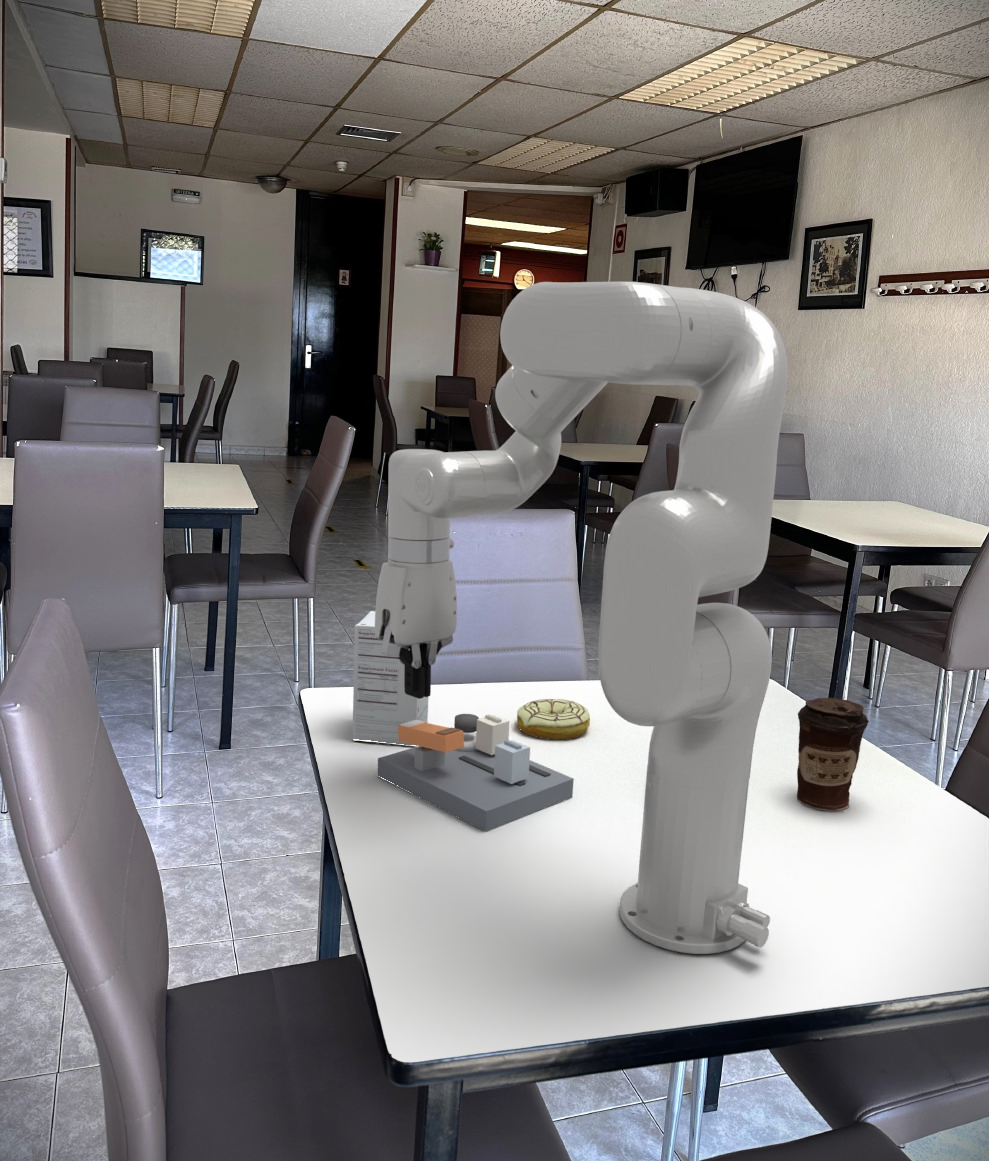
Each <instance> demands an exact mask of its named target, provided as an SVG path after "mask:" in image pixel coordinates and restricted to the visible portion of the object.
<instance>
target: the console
mask: <svg viewBox="0 0 989 1161" xmlns="http://www.w3.org/2000/svg"><path fill="white" fill-rule="evenodd" d="M463 735H464V747H462V748H459V749H456V750H452V751H449V752H442V751H438V750H434V749H430V748H426V747H422V746H418V745H416V747H412V748H407V749H403V750H401V751H398V752H394V753H391V754H388V755H383V756H380V757H377V775H378V776H380V777H382V778H384V779H386V780H388V781H390V782H392V783H394V784H395V785H398V786H399V787H401V788H403V789H405V790H407V791H409V792H411V793H413V794H414V795H413V794H412V795H413V796H415V795H416V796H415V797H417V796H418V797H417V798H419V797H420V798H421V799H420V798H419V799H420V800H422V799H423V801H424V800H426V801H428V802H430V803H431V804H430V803H429V804H430V805H432V804H433V805H432V806H434V805H436V806H437V807H436V806H435V807H436V808H438V807H440V808H441V809H440V808H439V809H440V810H442V809H443V811H444V810H445V811H444V812H446V811H447V812H446V813H448V812H449V813H448V814H450V813H451V815H452V814H453V815H452V816H454V817H456V816H457V817H456V818H458V817H459V818H458V819H460V820H462V821H463V822H465V821H466V823H467V822H468V823H467V824H469V825H471V824H472V825H471V826H473V827H476V828H477V829H480V830H482V831H483V832H489V831H491V830H493V829H496V828H499V827H500V826H503V825H506V824H510V823H511V822H513V821H516V820H519V819H522V818H524V817H527V816H529V815H531V814H534V813H537V812H539V811H541V810H544V809H547V808H548V807H552V806H554V805H557V804H559V803H561V802H564V801H567V800H570V799H572V798H573V794H574V793H573V792H574V779H575V778H574V777H571V776H569V775H567V774H564V773H561V772H559V771H556V770H554V769H552V768H549V767H548V766H544V765H542V764H541V763H538V762H535V761H533V760H529V778H527V779H524V780H521V781H519V782H516V783H513V784H510V783H508V782H505V781H503V780H501V779H499V778H497V777H494V764H495V754H494V755H490V754H487V753H485V752H483V751H480V750H478V749H476V732H473V733H463ZM395 785H394V786H395ZM399 787H398V788H399ZM401 788H400V789H401ZM403 789H402V790H403ZM405 790H404V791H405ZM407 791H406V792H407ZM409 792H408V793H409ZM411 793H410V794H411ZM426 801H425V802H426ZM428 802H427V803H428Z"/></svg>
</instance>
